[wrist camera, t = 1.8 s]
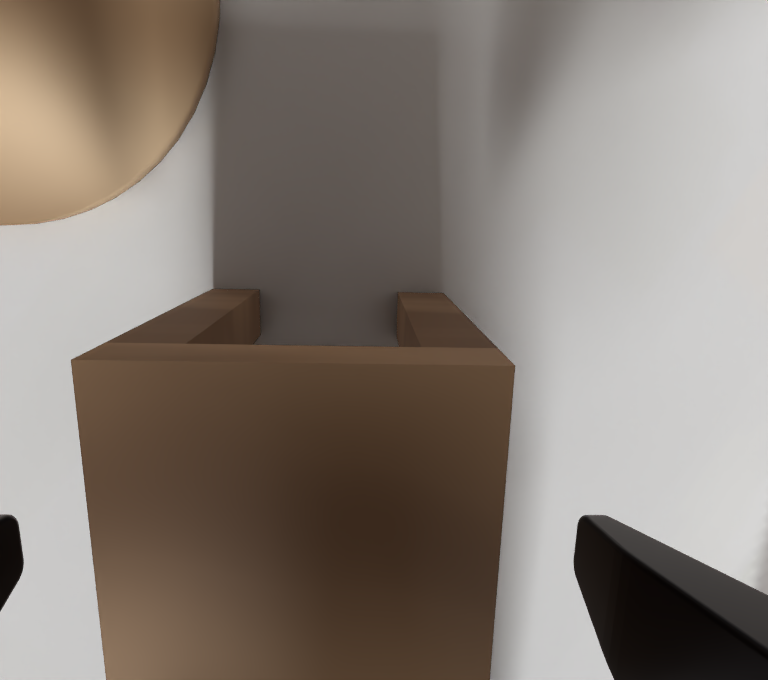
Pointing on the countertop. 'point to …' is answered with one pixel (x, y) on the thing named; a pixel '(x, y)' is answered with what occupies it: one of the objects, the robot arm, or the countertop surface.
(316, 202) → the countertop surface
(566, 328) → the countertop surface
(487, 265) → the countertop surface
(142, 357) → the tan block with prongs
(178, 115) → the trivet
